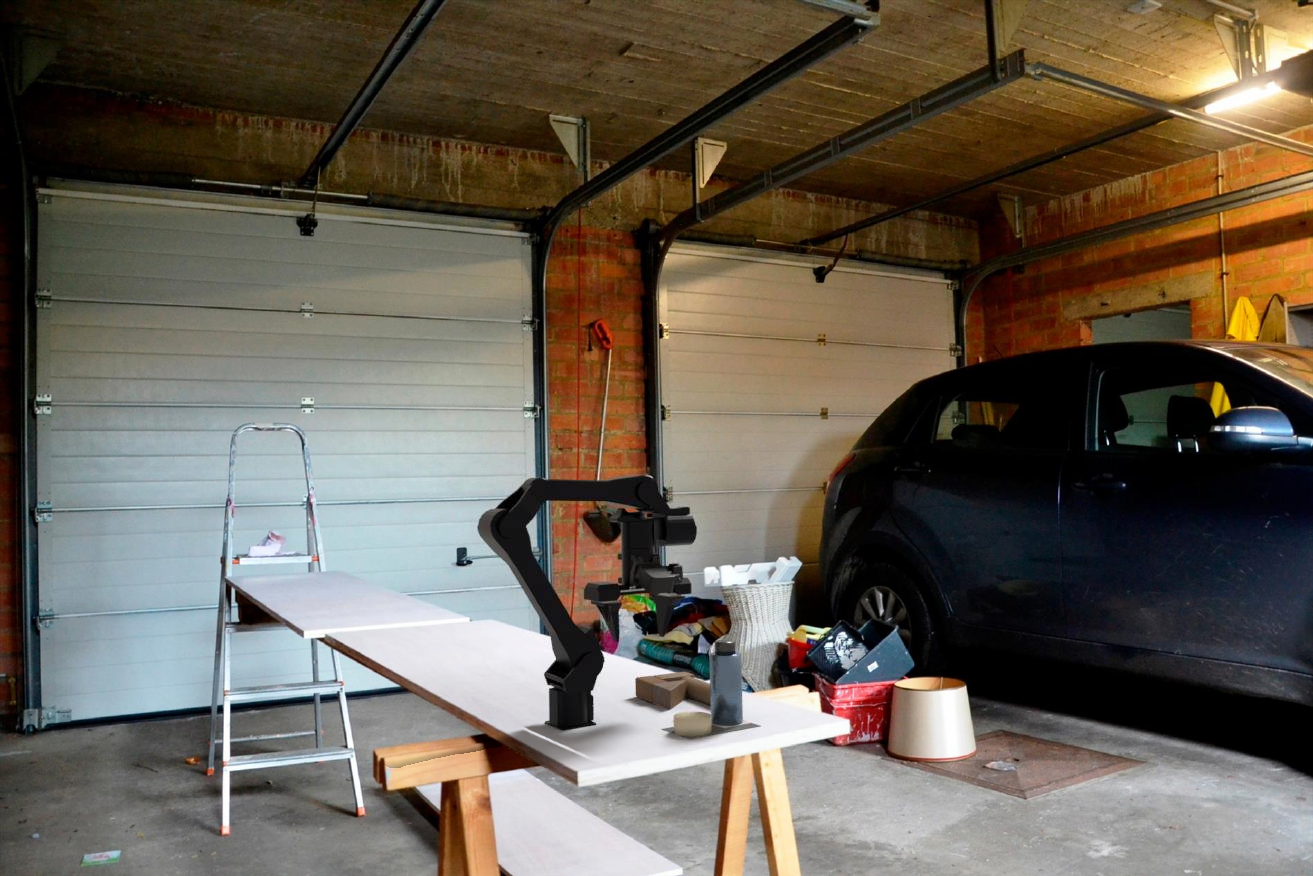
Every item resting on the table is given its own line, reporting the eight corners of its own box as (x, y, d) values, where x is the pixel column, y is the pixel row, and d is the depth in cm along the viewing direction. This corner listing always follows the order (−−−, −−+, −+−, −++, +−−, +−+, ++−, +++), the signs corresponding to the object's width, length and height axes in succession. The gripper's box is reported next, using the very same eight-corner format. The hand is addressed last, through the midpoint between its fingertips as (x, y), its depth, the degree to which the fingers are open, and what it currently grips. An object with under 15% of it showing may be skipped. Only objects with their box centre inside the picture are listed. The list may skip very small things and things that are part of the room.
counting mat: (689, 741, 154) (689, 738, 154) (661, 731, 161) (661, 728, 161) (761, 728, 162) (761, 725, 162) (731, 719, 168) (731, 716, 168)
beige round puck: (688, 738, 154) (687, 722, 154) (666, 730, 159) (666, 715, 159) (719, 732, 158) (719, 716, 158) (697, 725, 163) (697, 709, 163)
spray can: (718, 727, 161) (716, 645, 161) (706, 720, 166) (704, 640, 166) (748, 723, 163) (746, 642, 163) (734, 717, 167) (733, 638, 168)
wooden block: (634, 677, 187) (679, 694, 171) (685, 671, 192) (734, 687, 176) (635, 697, 187) (680, 716, 171) (685, 690, 192) (734, 708, 176)
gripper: (615, 553, 161) (616, 651, 160) (709, 547, 171) (711, 639, 170) (581, 549, 170) (582, 642, 170) (672, 544, 180) (674, 632, 180)
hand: (639, 639), depth 172 cm, fingers open, 9 cm apart
